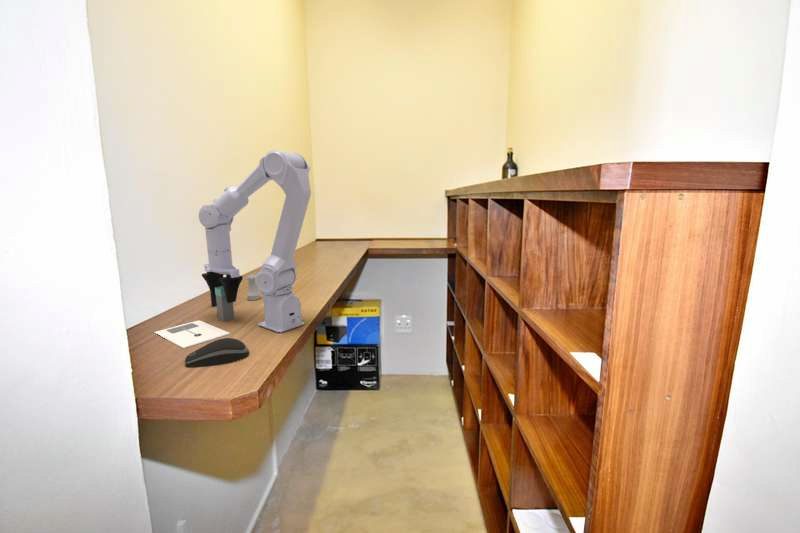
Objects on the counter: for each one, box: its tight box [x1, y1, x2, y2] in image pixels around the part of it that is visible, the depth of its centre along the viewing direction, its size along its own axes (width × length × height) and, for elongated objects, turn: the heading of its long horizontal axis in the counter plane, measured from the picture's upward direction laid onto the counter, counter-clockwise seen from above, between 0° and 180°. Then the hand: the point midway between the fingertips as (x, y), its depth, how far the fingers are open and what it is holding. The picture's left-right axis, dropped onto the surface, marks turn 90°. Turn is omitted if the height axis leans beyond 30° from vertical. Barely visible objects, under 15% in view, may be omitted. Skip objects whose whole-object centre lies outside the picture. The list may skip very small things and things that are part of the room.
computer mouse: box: [184, 337, 250, 369], centre depth 80 cm, size 7×12×4 cm, turn 115°
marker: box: [215, 286, 235, 322], centre depth 104 cm, size 3×3×9 cm
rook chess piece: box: [246, 273, 262, 301], centre depth 124 cm, size 4×4×8 cm
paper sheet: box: [153, 319, 231, 350], centre depth 94 cm, size 16×11×1 cm
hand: (224, 299), depth 104 cm, fingers open, 7 cm apart
